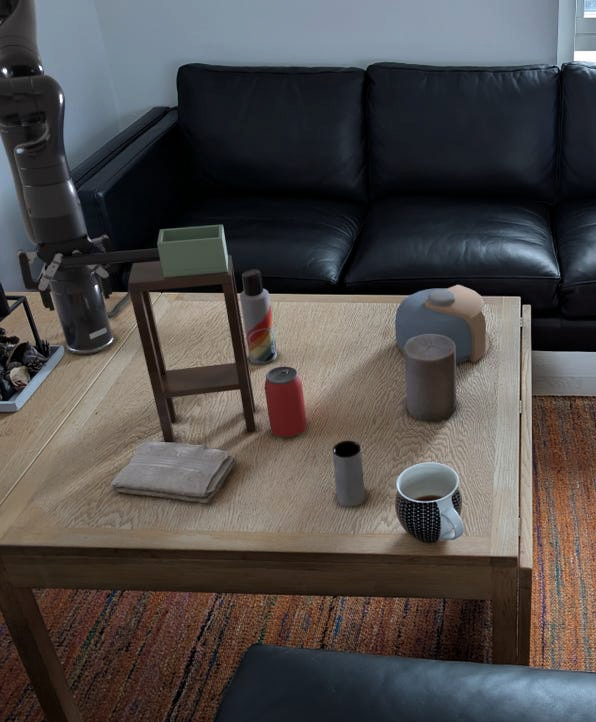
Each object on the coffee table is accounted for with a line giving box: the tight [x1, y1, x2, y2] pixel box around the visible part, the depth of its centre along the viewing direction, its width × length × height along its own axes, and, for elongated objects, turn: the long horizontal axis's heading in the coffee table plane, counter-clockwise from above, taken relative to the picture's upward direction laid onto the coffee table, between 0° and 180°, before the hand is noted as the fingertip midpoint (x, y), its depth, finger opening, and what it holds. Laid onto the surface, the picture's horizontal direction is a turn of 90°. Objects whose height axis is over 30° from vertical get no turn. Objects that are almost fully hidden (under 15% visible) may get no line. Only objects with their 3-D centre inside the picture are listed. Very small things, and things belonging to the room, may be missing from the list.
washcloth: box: [110, 440, 237, 504], centre depth 141 cm, size 12×18×3 cm, turn 82°
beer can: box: [264, 365, 308, 439], centre depth 151 cm, size 7×7×12 cm
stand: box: [127, 254, 257, 443], centre depth 146 cm, size 8×16×32 cm, turn 104°
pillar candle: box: [403, 334, 457, 422], centre depth 157 cm, size 10×10×15 cm
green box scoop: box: [62, 224, 229, 278], centre depth 135 cm, size 6×25×6 cm, turn 104°
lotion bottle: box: [239, 268, 278, 365], centre depth 170 cm, size 6×6×20 cm
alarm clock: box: [394, 284, 490, 364], centre depth 178 cm, size 19×20×12 cm
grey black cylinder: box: [331, 440, 366, 508], centre depth 135 cm, size 4×4×10 cm
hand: (79, 303), depth 138 cm, fingers open, 8 cm apart
